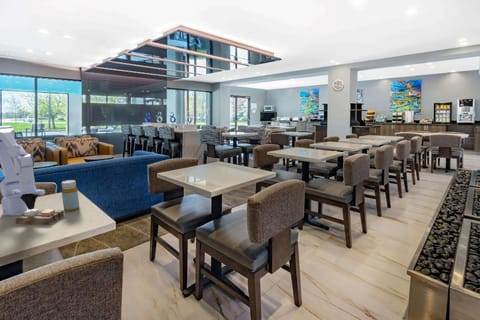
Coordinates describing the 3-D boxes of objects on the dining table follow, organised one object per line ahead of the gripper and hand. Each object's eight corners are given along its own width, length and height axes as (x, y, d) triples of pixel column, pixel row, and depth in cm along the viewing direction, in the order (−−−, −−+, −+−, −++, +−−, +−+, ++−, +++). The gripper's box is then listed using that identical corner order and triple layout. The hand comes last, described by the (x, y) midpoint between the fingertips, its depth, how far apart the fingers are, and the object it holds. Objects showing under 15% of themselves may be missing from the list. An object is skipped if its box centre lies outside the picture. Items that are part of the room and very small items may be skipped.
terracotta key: (41, 218, 131) (40, 212, 131) (47, 215, 135) (46, 209, 134) (49, 218, 131) (48, 212, 130) (55, 215, 135) (54, 209, 134)
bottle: (72, 212, 143) (69, 183, 140) (60, 211, 144) (57, 183, 141) (82, 207, 150) (79, 180, 147) (71, 206, 151) (68, 179, 148)
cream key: (25, 218, 131) (24, 212, 131) (31, 214, 135) (30, 209, 135) (33, 218, 131) (32, 212, 131) (39, 215, 135) (38, 209, 135)
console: (16, 223, 129) (15, 217, 128) (32, 215, 139) (32, 209, 138) (49, 224, 128) (48, 218, 128) (64, 216, 138) (63, 210, 137)
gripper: (4, 183, 126) (9, 211, 129) (35, 183, 126) (39, 212, 128) (17, 179, 133) (21, 206, 136) (46, 179, 133) (50, 206, 135)
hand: (31, 208), depth 133 cm, fingers closed
